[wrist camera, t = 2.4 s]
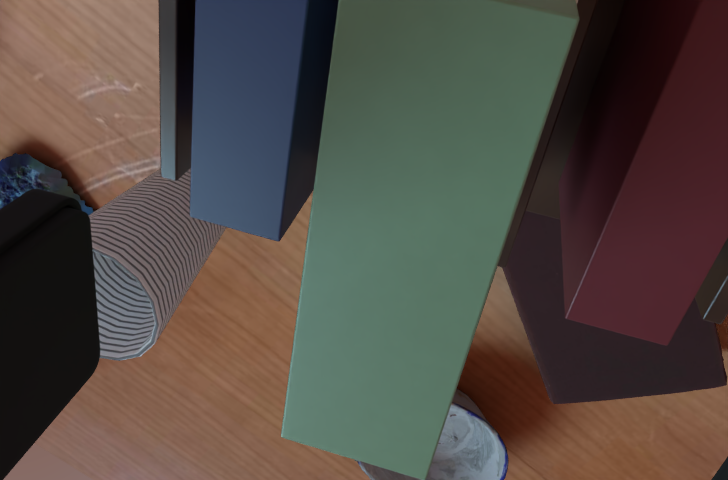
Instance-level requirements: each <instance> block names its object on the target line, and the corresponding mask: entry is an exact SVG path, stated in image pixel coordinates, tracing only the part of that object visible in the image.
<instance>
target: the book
mask: <svg viewBox="0 0 728 480" xmlns="http://www.w3.org/2000/svg"><path fill="white" fill-rule="evenodd" d="M502 268H503V267H502ZM503 271H504V273H505V276H506V279H507V282H508V284H509V287H510V290H511V293H512V295H513V298H514V301H515V304H516V307H517V309H518V312H519V315H520V317H521V320H522V323H523V325H524V328H525V331H526V333H527V336H528V339H529V342H530V345H531V348H532V351H533V353H534V356H535V359H536V362H537V365H538V368H539V370H540V373H541V376H542V379H543V382H544V384H545V387H546V390H547V393H548V396H549V398H550V400H551V402H552V403H554V404H565V403H578V402H591V401H602V400H613V399H623V398H633V397H642V396H652V395H662V394H671V393H680V392H687V391H693V390H701V389H709V388H716V387H720V386H725V385H727V375H726V372H725V368H724V363H723V360H724V359H723V357H722V351H721V345H720V341H719V337H718V334H717V329H716V325H715V323H713V322H709V321H706V320H703V319H702V317H701V314H700V311H699V308H698V305H697V302H696V299H695V297H694V299H693V301H692V303H691V304H690V306H689V308H688V310H687V312H686V313H685V315H684V317H683V319H682V321H681V322H680V324H679V326H678V328H677V330H676V331H675V333H674V335H673V337H672V339H671V340H670V342H669V344H668V345H662V344H658V343H654V342H651V341H647V340H643V339H640V338H636V337H632V336H628V335H625V334H621V333H617V332H613V331H610V330H606V329H602V328H599V327H595V326H591V325H587V324H584V323H580V322H576V321H573V320H569V319H566V318H565V307H564V286H563V265H562V244H561V223H560V219H556V218H552V217H548V216H544V215H541V214H537V213H533V212H529V211H525V214H524V217H523V220H522V222H521V225H520V228H519V231H518V234H517V237H516V240H515V243H514V246H513V249H512V251H511V254H510V257H509V260H508V263H507V266H506V267H505V268H503Z"/></svg>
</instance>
